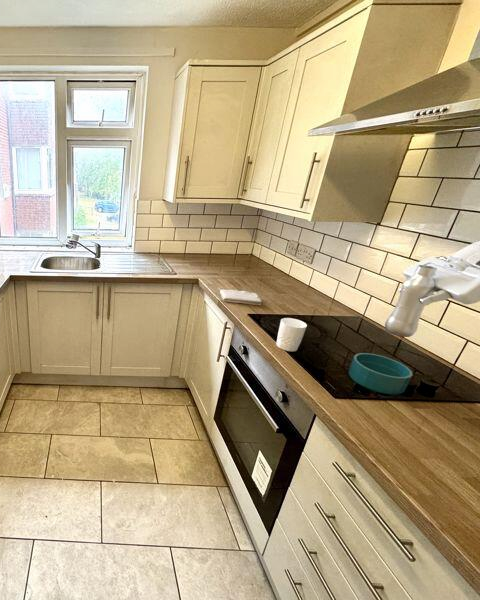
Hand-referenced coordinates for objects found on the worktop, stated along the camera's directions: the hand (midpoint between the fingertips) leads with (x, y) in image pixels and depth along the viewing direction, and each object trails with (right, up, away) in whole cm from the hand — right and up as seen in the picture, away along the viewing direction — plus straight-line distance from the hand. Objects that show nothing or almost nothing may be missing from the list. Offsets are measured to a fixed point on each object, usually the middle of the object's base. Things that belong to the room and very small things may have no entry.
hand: (411, 297), depth 86 cm
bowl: (+1, -26, +12) cm, 28 cm away
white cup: (-14, -18, +31) cm, 38 cm away
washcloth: (-10, -1, +73) cm, 73 cm away
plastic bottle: (+1, -11, +4) cm, 12 cm away
